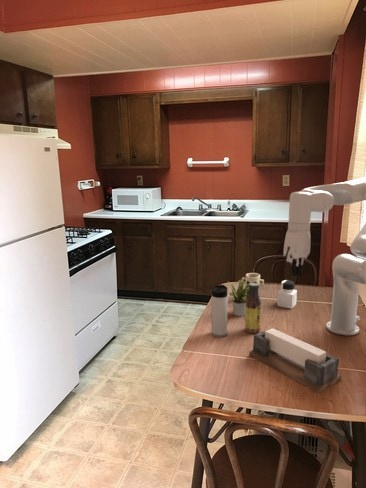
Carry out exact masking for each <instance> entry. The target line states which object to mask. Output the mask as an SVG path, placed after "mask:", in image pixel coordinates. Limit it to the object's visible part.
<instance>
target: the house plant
mask: <svg viewBox="0 0 366 488" xmlns="http://www.w3.org/2000/svg"><path fill="white" fill-rule="evenodd" d="M237 281H238V287H237V288H235V286H234V284H232V283H231V282H230V281H228V280H227V283H229V288H231V292H228V294H229V295H228V297H233V299H232V302H231V303H232V309H233V314H234V315H235V316H236V317H243V316H245V309H246V299H247V298H246V296H247V295H249V294H246V293H247V292H248V291H249V290H248V288H249V284H250V283H251V282H253V281H251V282H250V283H248V284H247V286H246V285H245V284H243V280H242V279H239V280H237ZM247 290H248V291H247Z"/></svg>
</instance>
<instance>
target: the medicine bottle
mask: <svg viewBox="0 0 366 488" xmlns="http://www.w3.org/2000/svg"><path fill="white" fill-rule="evenodd" d="M280 284H281V285H280V290H279V291H277V307H280V308H285V309H291V310H292V309H293V308H294V307H295V306H296V305H297V301H298V300H297V295H298V290H297V289H295V282H294V281H292V280H289V279H285V280H282V281H281V283H280Z"/></svg>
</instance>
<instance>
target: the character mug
mask: <svg viewBox="0 0 366 488" xmlns="http://www.w3.org/2000/svg"><path fill="white" fill-rule="evenodd" d="M242 280H243V285H244V286H245V285H246V286H247V284H248V283H250V282H251V281H253V282H251V283H257V284H259V288H260V287H263V286H264V284H265V280H264V279H261V274H259V273H257V272H249V273H248V272H247V273H246V274H245V277H242V278H241V281H242ZM246 286H245V287H246ZM248 290H249V288H248ZM248 290H247V291H248ZM246 294H249V291H248V292H247V293H246ZM246 294H245V295H246ZM248 296H249V295H247V296H245V297H246V298H247V297H248Z"/></svg>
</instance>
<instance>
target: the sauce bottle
mask: <svg viewBox="0 0 366 488" xmlns="http://www.w3.org/2000/svg"><path fill="white" fill-rule="evenodd" d="M259 289H260V287H259V284H257V283H250V284H249V296H248V297H247V299H246V309H245V315H244V316H245V317H244V322H245V323H244V328H245V332H247V333H252V334H258V333H260V331H261V323H262V322H261V320H262V319H261V318H262V317H261V316H262V301H261V299H260V295H259Z"/></svg>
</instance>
